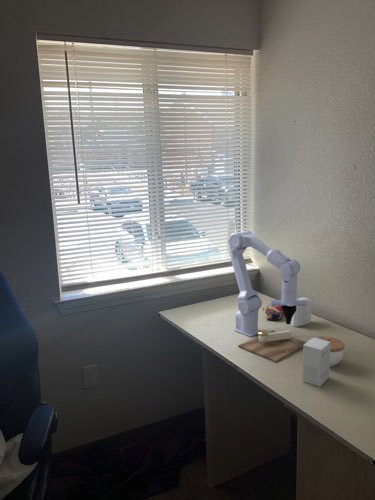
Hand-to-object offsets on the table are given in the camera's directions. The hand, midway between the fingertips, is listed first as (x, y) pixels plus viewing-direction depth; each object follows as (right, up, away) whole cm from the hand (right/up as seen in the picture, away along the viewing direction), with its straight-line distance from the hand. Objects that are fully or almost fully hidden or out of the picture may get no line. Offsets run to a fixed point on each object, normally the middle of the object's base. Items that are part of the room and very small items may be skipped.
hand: (288, 323), depth 163 cm
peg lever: (-5, -8, +3) cm, 9 cm away
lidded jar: (+11, -12, -14) cm, 22 cm away
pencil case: (+2, -2, +35) cm, 36 cm away
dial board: (-6, -9, 0) cm, 11 cm away
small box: (+3, -14, -26) cm, 30 cm away
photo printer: (+11, -5, +23) cm, 26 cm away
